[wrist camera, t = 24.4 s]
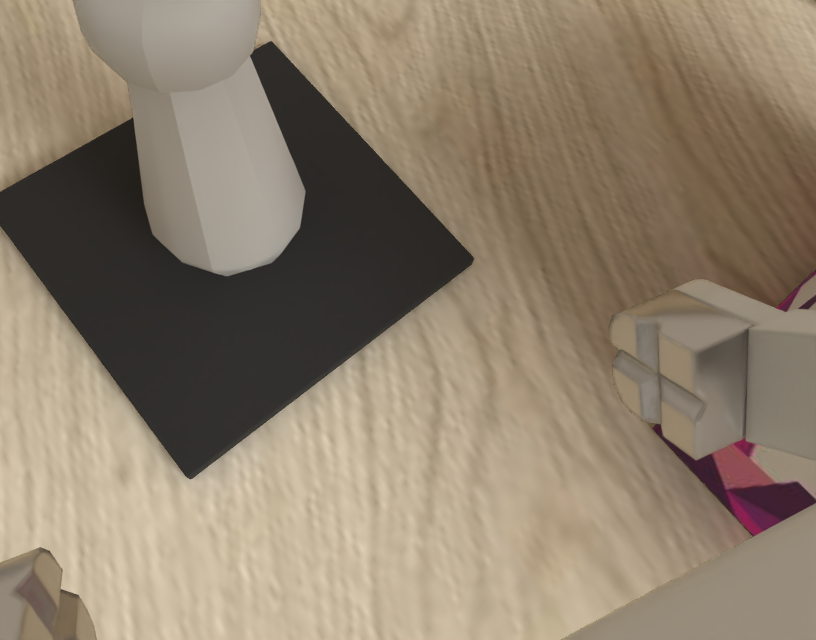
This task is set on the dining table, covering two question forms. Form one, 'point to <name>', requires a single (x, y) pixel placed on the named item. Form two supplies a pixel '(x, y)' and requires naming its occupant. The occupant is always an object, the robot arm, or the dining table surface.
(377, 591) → the dining table surface
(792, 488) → the decorative box
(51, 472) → the dining table surface
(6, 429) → the dining table surface
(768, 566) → the robot arm
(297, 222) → the salt shaker
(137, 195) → the black square mat
